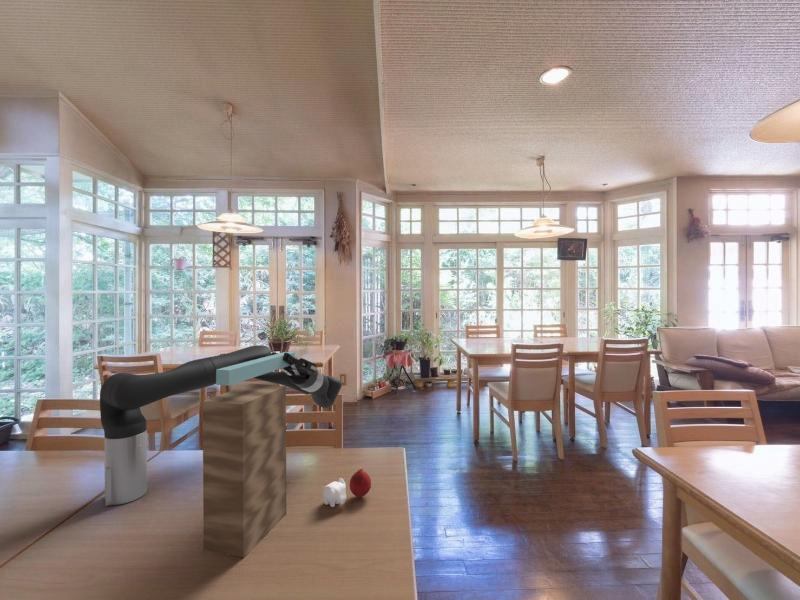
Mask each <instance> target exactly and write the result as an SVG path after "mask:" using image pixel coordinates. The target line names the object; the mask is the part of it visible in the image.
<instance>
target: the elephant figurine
mask: <svg viewBox="0 0 800 600" xmlns="http://www.w3.org/2000/svg"><path fill="white" fill-rule="evenodd" d="M346 489H347V483H346V482H345V480H344V479H343V478H342V477H339V478H338V481H332V482H330V483H328V484H327V485H325V486H324V485H322V490H321V496H322V500H323V502H324V505H325V506H326V505H329V507H331V508H335V506H336V505H338V504H339V505H341V506H342V505H344V504H345V503H346V500H348V498H347V497H348V495H347V492H346Z"/></svg>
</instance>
